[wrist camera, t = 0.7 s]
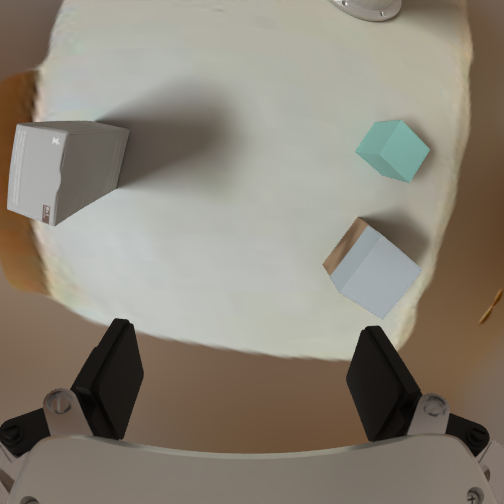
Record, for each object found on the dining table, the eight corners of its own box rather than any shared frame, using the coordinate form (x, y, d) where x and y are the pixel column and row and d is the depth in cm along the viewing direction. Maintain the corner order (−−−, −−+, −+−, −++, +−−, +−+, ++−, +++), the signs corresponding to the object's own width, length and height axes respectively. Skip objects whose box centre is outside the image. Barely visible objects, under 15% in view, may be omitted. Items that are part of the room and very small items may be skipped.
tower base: (356, 216, 37) (368, 224, 33) (394, 247, 38) (407, 257, 35) (321, 263, 39) (329, 276, 35) (361, 290, 41) (371, 303, 37)
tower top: (367, 225, 33) (382, 234, 29) (407, 257, 35) (422, 269, 31) (329, 277, 35) (338, 292, 31) (371, 304, 37) (382, 319, 33)
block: (374, 122, 32) (401, 120, 26) (400, 146, 33) (430, 149, 27) (354, 151, 33) (378, 154, 27) (382, 175, 35) (409, 183, 28)
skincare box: (91, 120, 30) (12, 116, 16) (137, 131, 32) (69, 126, 17) (77, 181, 33) (-1, 209, 18) (121, 194, 34) (52, 230, 19)
